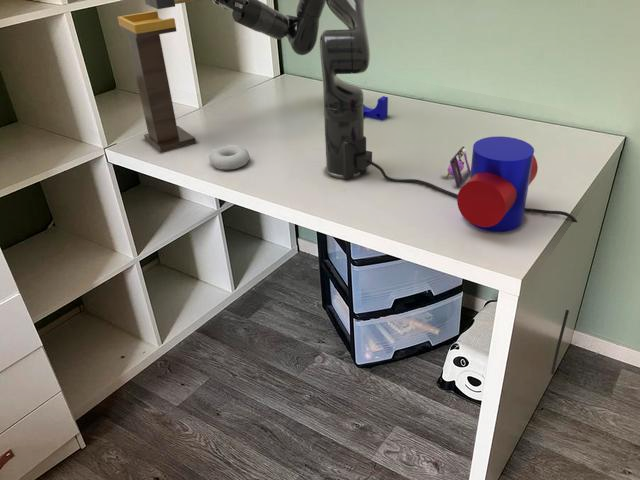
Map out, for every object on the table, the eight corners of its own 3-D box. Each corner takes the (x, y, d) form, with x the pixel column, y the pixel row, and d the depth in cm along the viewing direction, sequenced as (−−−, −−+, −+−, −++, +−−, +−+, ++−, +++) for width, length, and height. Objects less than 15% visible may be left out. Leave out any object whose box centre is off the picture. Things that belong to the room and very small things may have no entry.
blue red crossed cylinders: (485, 192, 143) (493, 126, 134) (536, 204, 138) (547, 136, 129) (449, 231, 129) (455, 160, 120) (504, 246, 124) (515, 174, 115)
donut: (204, 170, 154) (242, 173, 153) (201, 157, 153) (240, 160, 151) (219, 154, 163) (255, 156, 161) (217, 141, 161) (254, 143, 159)
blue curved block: (345, 114, 185) (344, 94, 181) (353, 109, 188) (353, 89, 185) (379, 121, 180) (379, 101, 176) (387, 117, 183) (387, 97, 179)
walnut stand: (196, 142, 168) (176, 27, 151) (161, 152, 163) (136, 34, 146) (178, 130, 176) (157, 18, 158) (144, 139, 171) (119, 25, 153)
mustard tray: (176, 27, 151) (174, 18, 150) (136, 34, 146) (134, 25, 145) (157, 18, 158) (156, 10, 157) (119, 25, 153) (117, 16, 152)
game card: (454, 160, 142) (466, 145, 149) (433, 163, 145) (446, 149, 151) (461, 187, 145) (473, 171, 151) (441, 189, 148) (453, 174, 154)
